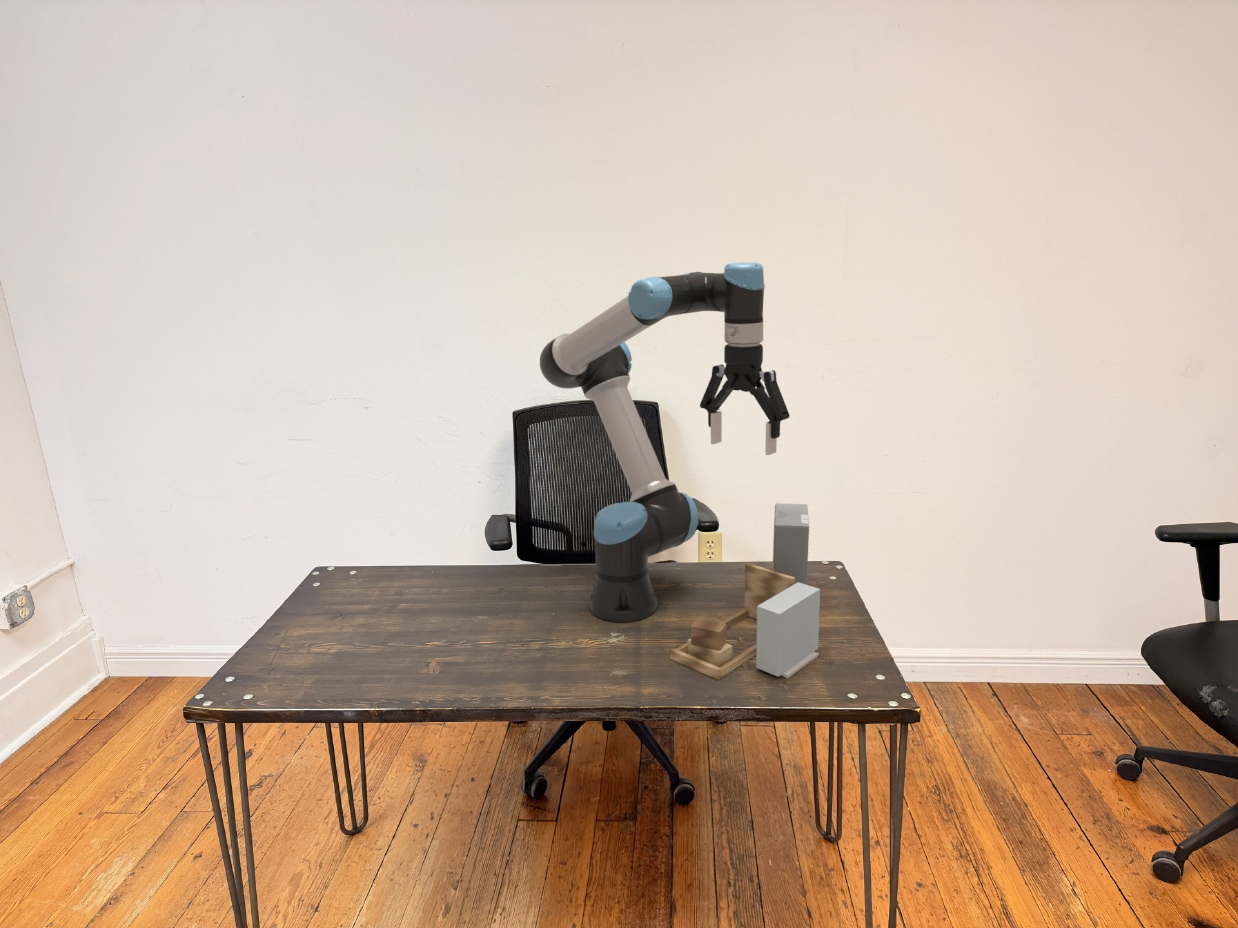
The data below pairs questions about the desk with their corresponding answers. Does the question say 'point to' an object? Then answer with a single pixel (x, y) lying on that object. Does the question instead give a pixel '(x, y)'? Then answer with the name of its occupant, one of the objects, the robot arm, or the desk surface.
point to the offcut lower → (711, 654)
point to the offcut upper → (708, 634)
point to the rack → (740, 618)
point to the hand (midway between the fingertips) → (742, 448)
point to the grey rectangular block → (787, 628)
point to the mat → (800, 665)
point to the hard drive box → (791, 541)
